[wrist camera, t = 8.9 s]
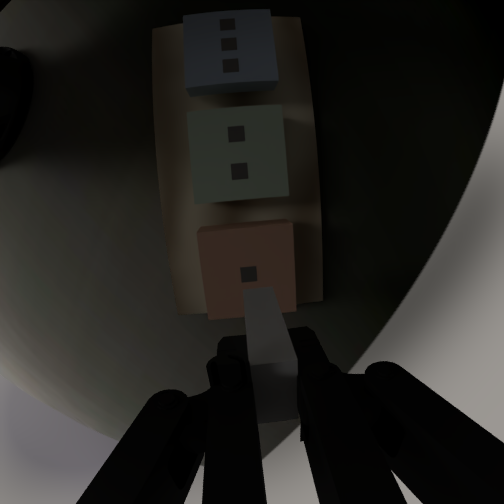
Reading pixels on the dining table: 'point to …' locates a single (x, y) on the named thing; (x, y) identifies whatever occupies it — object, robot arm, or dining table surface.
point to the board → (237, 211)
